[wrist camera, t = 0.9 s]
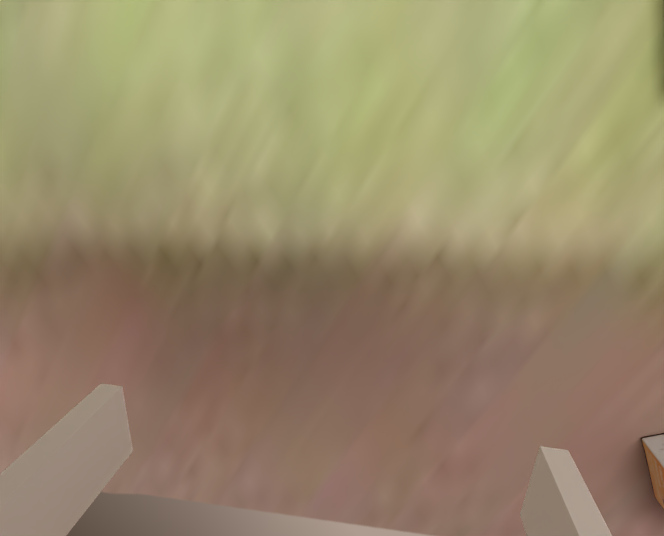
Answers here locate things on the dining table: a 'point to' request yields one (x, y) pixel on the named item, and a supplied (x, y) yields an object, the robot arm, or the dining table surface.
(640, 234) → the dining table surface
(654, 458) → the small box
